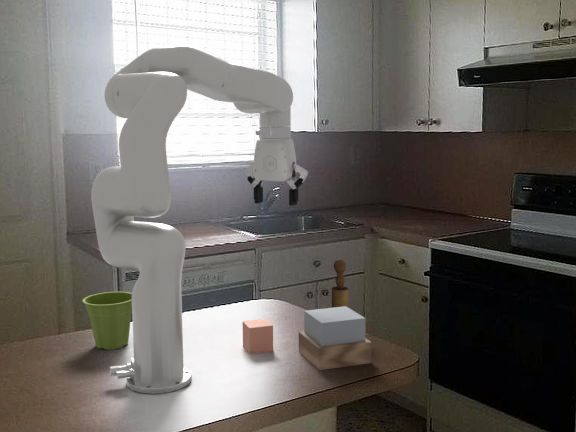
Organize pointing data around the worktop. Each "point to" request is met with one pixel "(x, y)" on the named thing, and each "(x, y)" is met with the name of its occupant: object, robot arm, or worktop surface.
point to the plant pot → (110, 318)
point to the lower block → (334, 353)
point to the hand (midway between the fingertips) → (275, 203)
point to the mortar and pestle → (339, 286)
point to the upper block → (334, 326)
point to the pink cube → (257, 336)
